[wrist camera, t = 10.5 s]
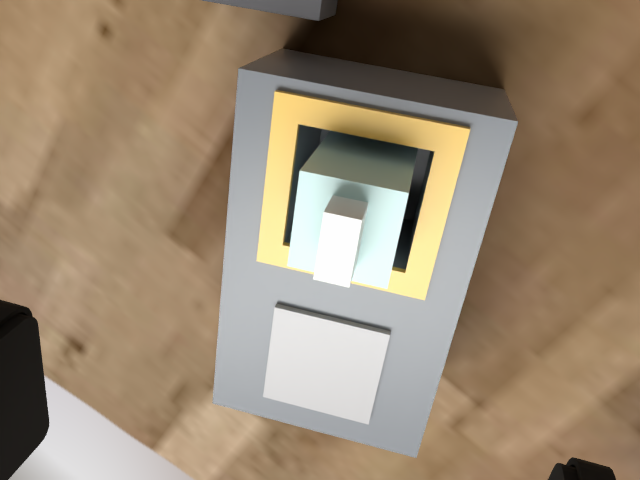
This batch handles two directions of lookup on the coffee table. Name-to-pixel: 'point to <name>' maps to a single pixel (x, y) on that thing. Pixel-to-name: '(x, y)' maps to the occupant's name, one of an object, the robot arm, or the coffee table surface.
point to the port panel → (359, 299)
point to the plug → (351, 209)
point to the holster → (289, 7)
